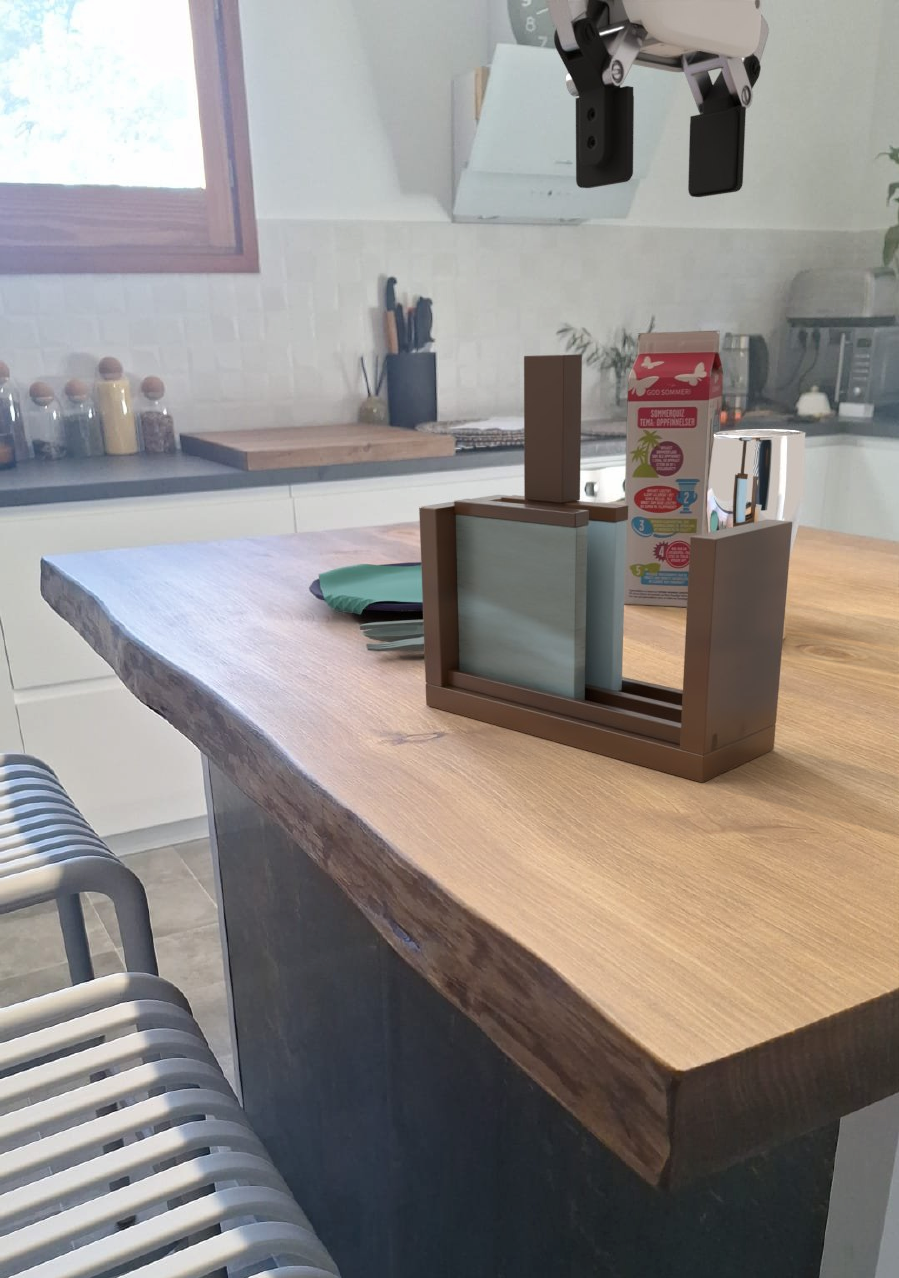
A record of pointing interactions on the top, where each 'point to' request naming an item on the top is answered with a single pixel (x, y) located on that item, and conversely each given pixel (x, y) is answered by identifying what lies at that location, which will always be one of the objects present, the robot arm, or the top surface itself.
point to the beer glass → (755, 478)
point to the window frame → (556, 636)
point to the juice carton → (668, 459)
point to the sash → (575, 503)
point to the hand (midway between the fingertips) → (662, 189)
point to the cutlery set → (377, 600)
